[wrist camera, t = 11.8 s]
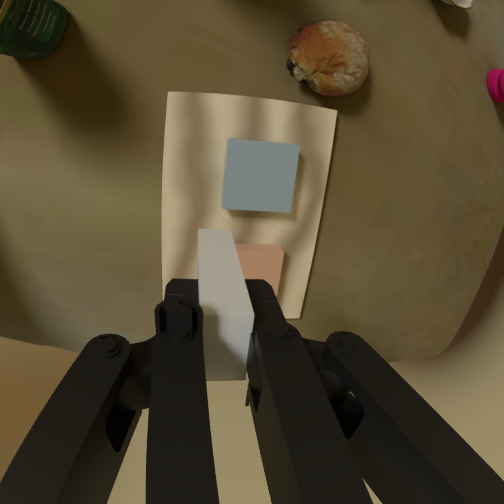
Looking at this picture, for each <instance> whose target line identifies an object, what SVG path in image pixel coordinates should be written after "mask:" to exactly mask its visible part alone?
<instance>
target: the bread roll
mask: <svg viewBox="0 0 504 504" xmlns="http://www.w3.org/2000/svg"><path fill="white" fill-rule="evenodd" d="M369 53H370V51H369V47H368V44H367V42H366V40H365V39H364V37H363V36H362V35H361V34H360V33H359V32H358V31H357V30H355V29H354V28H352V27H351V26H350V25H348V24H345V23H343V22H341V21H337V20H326V21H320V22H315V23H313V24H310V25H307V26H305V27H304V28H302V29H300V30H299V31H298V32H297V33H296V34H295V35H294V36H293V37H292V38H291V40H290V43H289V48H288V52H287V57H288V62H287V68H288V70H290V71H293V73H294V76H295V78H296V79H297V80H298V81H300V82H301V83H304V84H307V85H308V86H309V87H310V88H311V89H312V90H314V91H315V92H317V93H320V94H321V95H325V96H331V97H334V96H342V95H346V94H350V93H352V92H354V91H356V90H358V89H359V88H360V86H361V84H362V83H363V82H364V80H365V79H366V77H367V75H368V66H369Z"/></svg>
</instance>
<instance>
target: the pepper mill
mask: <svg viewBox="0 0 504 504" xmlns="http://www.w3.org/2000/svg"><path fill="white" fill-rule="evenodd" d="M487 87H488V91H489V93H490V95H491V97H492V98H493V99H494V100H495V101H496V102H500V103H504V69H503V70H500V69H492V70H490V71H489V73H488V76H487Z"/></svg>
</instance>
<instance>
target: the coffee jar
mask: <svg viewBox="0 0 504 504" xmlns="http://www.w3.org/2000/svg"><path fill="white" fill-rule="evenodd" d="M67 21H68V12H67V10H66V8H65V7H63V6H62V5H60V4H59V3H57V2H56V1H54V0H0V54H3V55H8V56H13V57H19V58H39V57H44V56H46V55H48V54H50V53H51V52H52V51H53V50H54V49H55V48H56V46H57V45H58V43H59V42H60V40H61V38H62V35H63V33H64V31H65V28H66V25H67Z"/></svg>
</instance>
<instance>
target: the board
mask: <svg viewBox="0 0 504 504" xmlns="http://www.w3.org/2000/svg"><path fill="white" fill-rule="evenodd" d="M336 116H337V110H332V109H327V108H322V107H317V106H311V105H305V104H299V103H293V102H287V101H280V100H273V99H265V98H257V97H247V96H237V95H226V94H212V93H194V92H168V99H167V110H166V123H165V138H164V155H163V179H162V279H163V301H164V295H165V288H166V285H167V284H168V282H169V281H170V280H171V279H172V278H178V279H197V249H198V229H219V230H231V233H232V236H233V240H234V243H241V244H268V245H281V247H282V248H283V250H284V257H283V263H282V269H281V275H280V281H279V287H278V293H277V300H278V302H279V305H280V307H281V310H282V312H283V314H284V317H285V319H288V318H300V313H301V309H302V305H303V300H304V296H305V291H306V287H307V282H308V277H309V273H310V268H311V263H312V258H313V253H314V248H315V243H316V238H317V233H318V227H319V222H320V217H321V211H322V206H323V200H324V194H325V189H326V183H327V177H328V170H329V164H330V158H331V151H332V145H333V138H334V131H335V124H336ZM227 137H230V138H243V139H254V140H264V141H273V142H282V143H290V144H296V145H299V146H300V150H299V157H298V165H297V172H296V179H295V186H294V192H293V199H292V206H291V213H284V212H268V211H250V210H231V209H222V205H221V201H222V189H223V177H224V165H225V154H226V144H227Z"/></svg>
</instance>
